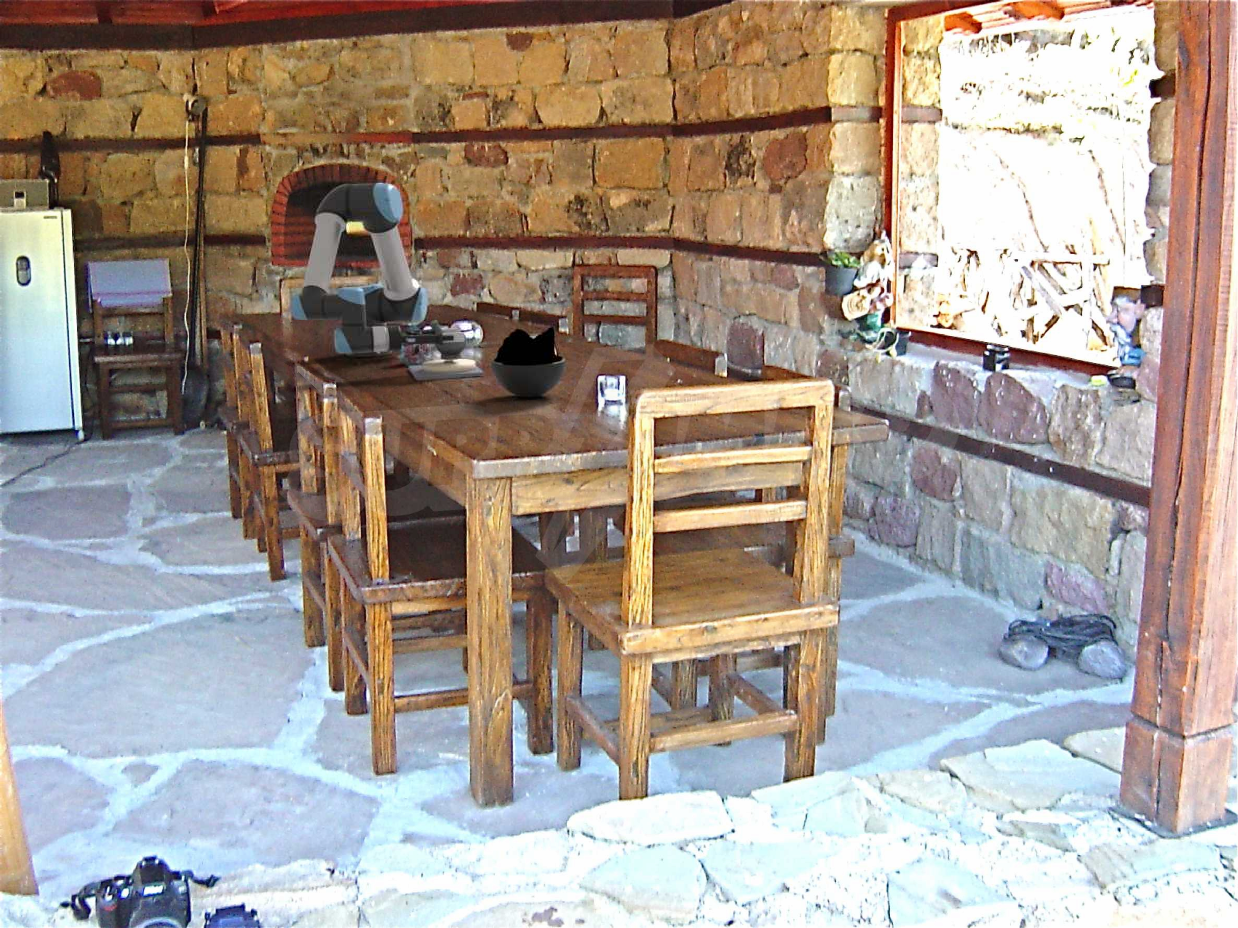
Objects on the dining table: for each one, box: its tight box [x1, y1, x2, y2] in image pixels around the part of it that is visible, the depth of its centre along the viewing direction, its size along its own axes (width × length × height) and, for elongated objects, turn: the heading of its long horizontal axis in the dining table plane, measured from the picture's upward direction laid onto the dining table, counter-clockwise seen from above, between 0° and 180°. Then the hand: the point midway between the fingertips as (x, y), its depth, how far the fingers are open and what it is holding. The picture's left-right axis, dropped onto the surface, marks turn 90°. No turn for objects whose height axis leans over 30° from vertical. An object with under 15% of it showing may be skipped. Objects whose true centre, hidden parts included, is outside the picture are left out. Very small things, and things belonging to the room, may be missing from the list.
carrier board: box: [408, 358, 485, 381], centre depth 401 cm, size 22×20×4 cm
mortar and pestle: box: [428, 319, 467, 360], centre depth 398 cm, size 11×9×12 cm
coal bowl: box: [490, 326, 566, 398], centre depth 355 cm, size 20×20×19 cm
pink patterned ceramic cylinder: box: [395, 343, 433, 367], centre depth 421 cm, size 11×11×12 cm
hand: (461, 334), depth 399 cm, fingers closed on mortar and pestle, 10 cm apart
